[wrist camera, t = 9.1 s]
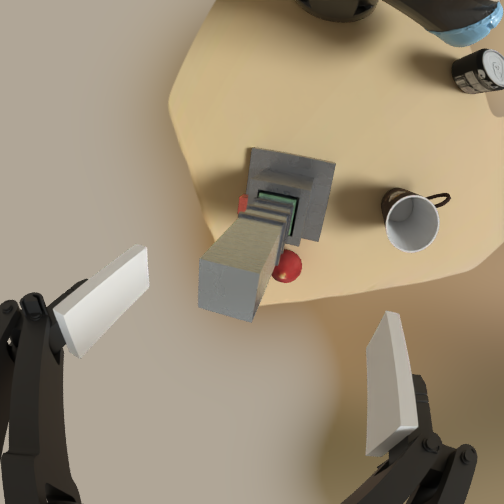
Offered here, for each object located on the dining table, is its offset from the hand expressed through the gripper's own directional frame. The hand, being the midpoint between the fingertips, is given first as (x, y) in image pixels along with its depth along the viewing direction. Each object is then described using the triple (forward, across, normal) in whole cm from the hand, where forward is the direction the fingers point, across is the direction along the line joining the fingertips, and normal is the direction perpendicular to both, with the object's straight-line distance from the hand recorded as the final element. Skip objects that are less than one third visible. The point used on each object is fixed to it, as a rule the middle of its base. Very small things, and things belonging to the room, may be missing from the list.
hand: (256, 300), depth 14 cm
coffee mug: (+36, +18, -1) cm, 41 cm away
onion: (+36, -1, -16) cm, 40 cm away
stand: (+36, -3, -4) cm, 36 cm away
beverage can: (+37, +24, +26) cm, 52 cm away
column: (+26, -3, -4) cm, 27 cm away
